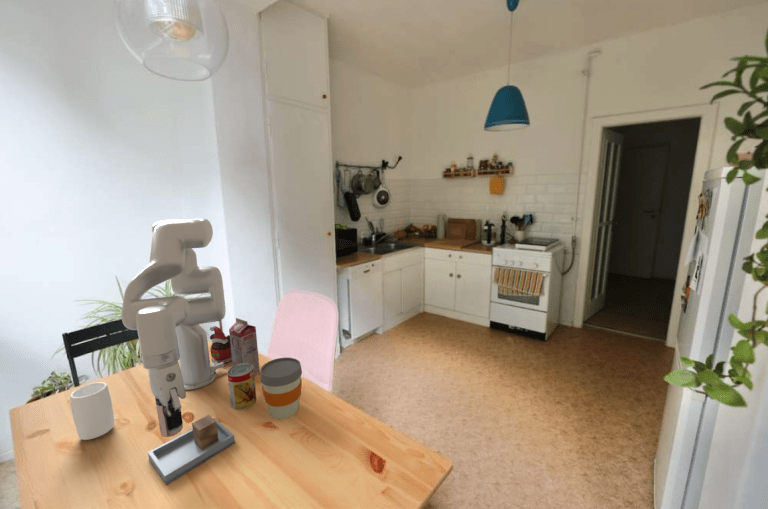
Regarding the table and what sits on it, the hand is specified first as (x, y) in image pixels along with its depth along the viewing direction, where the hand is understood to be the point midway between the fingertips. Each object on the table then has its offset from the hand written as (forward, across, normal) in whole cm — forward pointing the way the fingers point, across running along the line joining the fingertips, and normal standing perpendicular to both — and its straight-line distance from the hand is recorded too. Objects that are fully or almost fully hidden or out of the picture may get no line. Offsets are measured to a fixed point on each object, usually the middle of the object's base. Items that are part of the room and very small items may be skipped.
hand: (171, 421), depth 84 cm
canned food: (+12, +10, -24) cm, 28 cm away
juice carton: (+12, +26, -34) cm, 44 cm away
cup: (+12, +30, +10) cm, 34 cm away
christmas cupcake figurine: (+11, +44, -34) cm, 56 cm away
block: (+11, 0, -8) cm, 13 cm away
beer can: (+3, 0, 0) cm, 3 cm away
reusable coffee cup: (+12, -4, -30) cm, 32 cm away
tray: (+12, 0, -4) cm, 12 cm away
